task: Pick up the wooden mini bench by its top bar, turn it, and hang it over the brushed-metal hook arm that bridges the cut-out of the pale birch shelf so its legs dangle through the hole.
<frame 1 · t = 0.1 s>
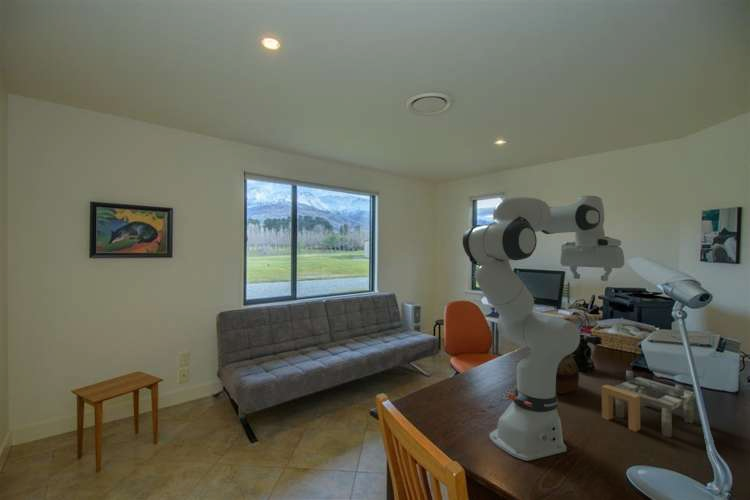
hand: (590, 279, 116), 48 cm above the table, fingers open, 8 cm apart
movie camera: (567, 364, 164), on the table
ceramic pitcher: (551, 387, 138), on the table
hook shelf: (653, 418, 111), on the table
wooden mini bench: (620, 423, 109), on the table
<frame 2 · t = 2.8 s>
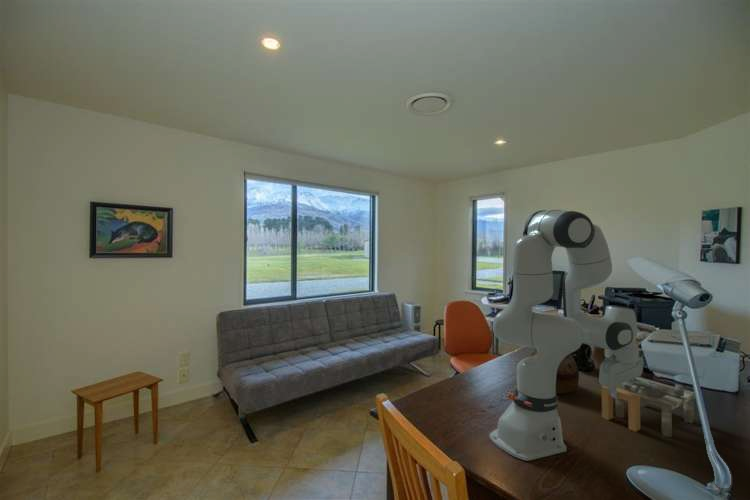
hand: (621, 393, 109), 10 cm above the table, fingers open, 7 cm apart
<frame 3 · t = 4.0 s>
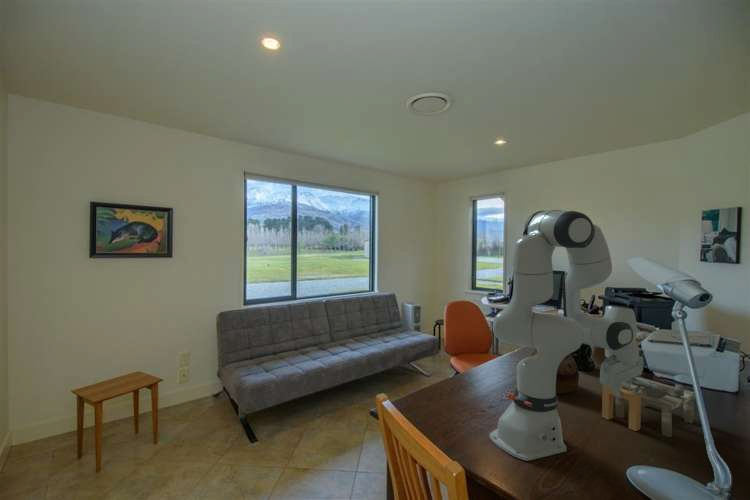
hand: (622, 393, 109), 10 cm above the table, fingers open, 4 cm apart
wooden mini bench: (620, 422, 109), on the table, touching gripper
everything else where it was.
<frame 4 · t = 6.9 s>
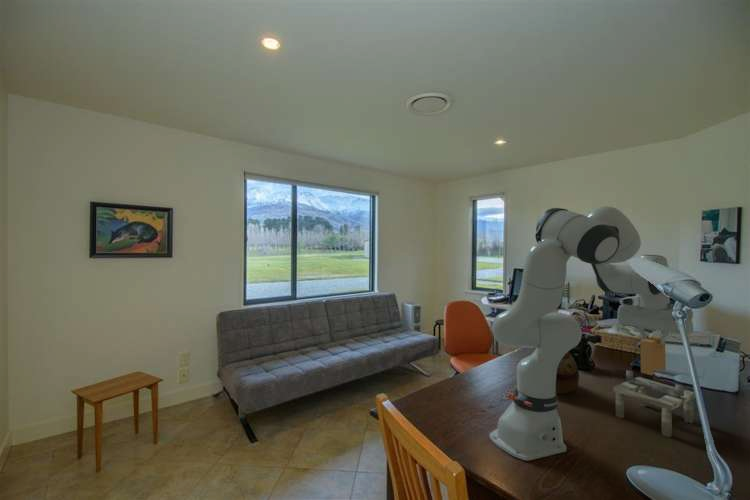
hand: (652, 341, 111), 27 cm above the table, fingers closed on wooden mini bench, 3 cm apart
wooden mini bench: (653, 371, 111), point 17 cm above the table, touching gripper
when the fingers open (13 cm above the table, at t = 9.5 s): wooden mini bench stays where it is, resting on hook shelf.
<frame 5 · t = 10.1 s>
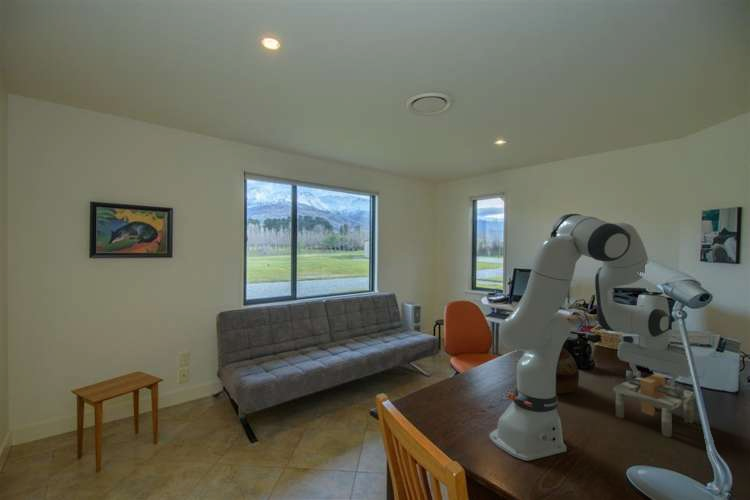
hand: (653, 380, 111), 13 cm above the table, fingers open, 8 cm apart
wooden mini bench: (653, 410, 111), point 3 cm above the table, touching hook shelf
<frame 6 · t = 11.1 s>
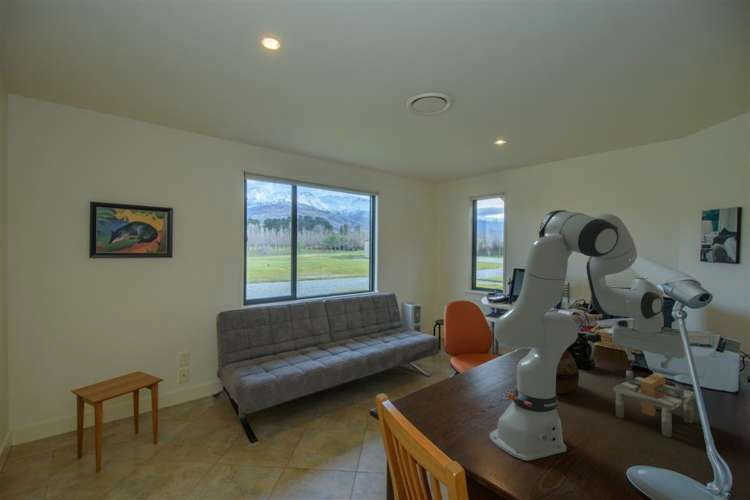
hand: (647, 363, 113), 18 cm above the table, fingers open, 8 cm apart
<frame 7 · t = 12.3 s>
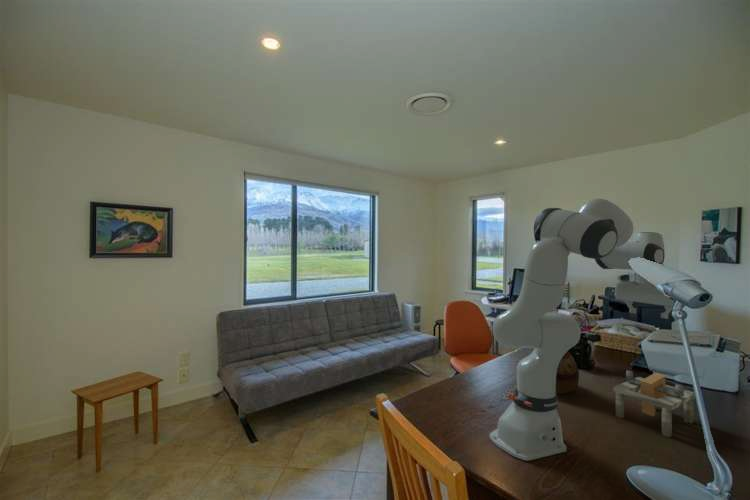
hand: (648, 315, 116), 35 cm above the table, fingers open, 8 cm apart
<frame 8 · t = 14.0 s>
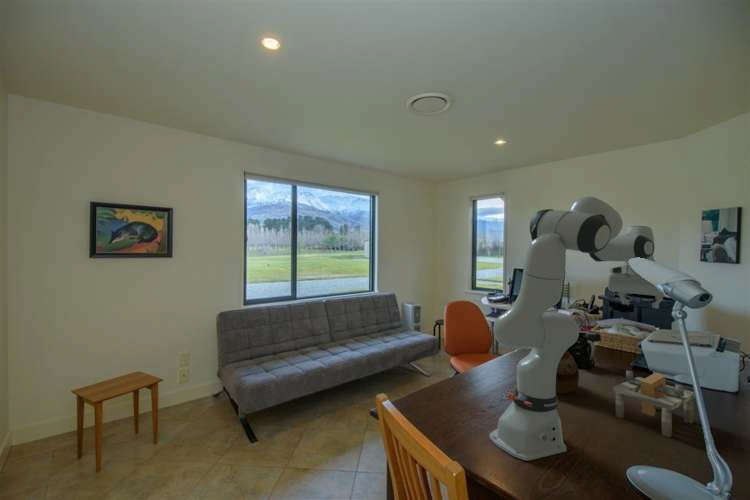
hand: (639, 306, 121), 37 cm above the table, fingers open, 8 cm apart
at the end: wooden mini bench 0.5 cm off-centre on the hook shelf, point 3.0 cm above the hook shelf's base; wooden mini bench touching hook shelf; the gripper is holding nothing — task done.
